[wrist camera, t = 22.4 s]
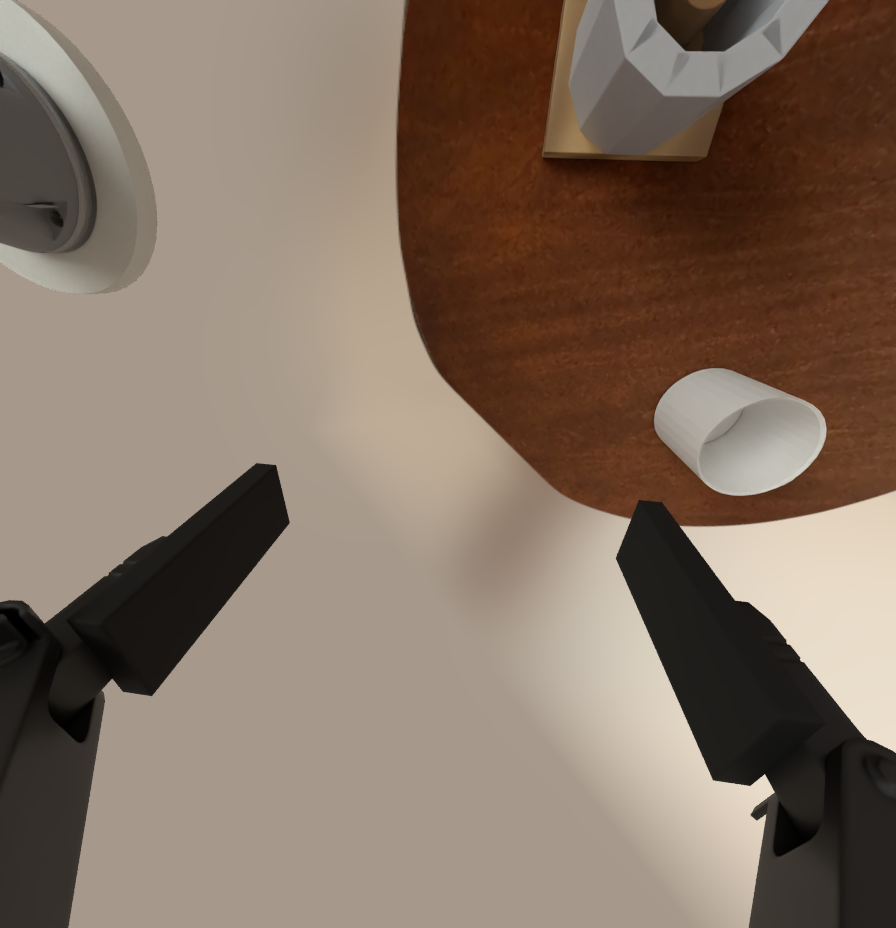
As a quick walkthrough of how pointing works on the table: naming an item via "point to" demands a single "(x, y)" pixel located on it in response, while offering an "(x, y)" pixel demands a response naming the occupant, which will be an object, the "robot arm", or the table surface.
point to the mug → (738, 431)
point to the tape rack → (678, 11)
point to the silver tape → (671, 66)
